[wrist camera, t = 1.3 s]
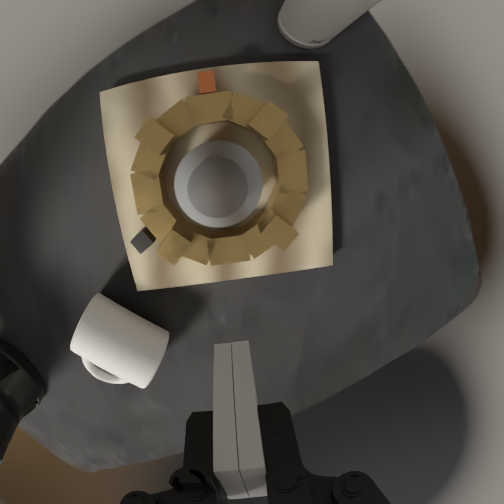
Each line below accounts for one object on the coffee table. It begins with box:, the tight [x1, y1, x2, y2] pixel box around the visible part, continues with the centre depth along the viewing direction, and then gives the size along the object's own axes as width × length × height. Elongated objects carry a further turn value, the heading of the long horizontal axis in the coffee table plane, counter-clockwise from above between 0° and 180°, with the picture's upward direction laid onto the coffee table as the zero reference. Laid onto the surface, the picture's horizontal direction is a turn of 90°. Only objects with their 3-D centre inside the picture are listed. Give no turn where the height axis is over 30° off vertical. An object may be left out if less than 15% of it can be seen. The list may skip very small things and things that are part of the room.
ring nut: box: [130, 70, 308, 266], centre depth 25 cm, size 16×18×5 cm
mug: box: [70, 293, 169, 388], centre depth 32 cm, size 12×10×8 cm
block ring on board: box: [100, 61, 333, 291], centre depth 26 cm, size 22×22×10 cm
